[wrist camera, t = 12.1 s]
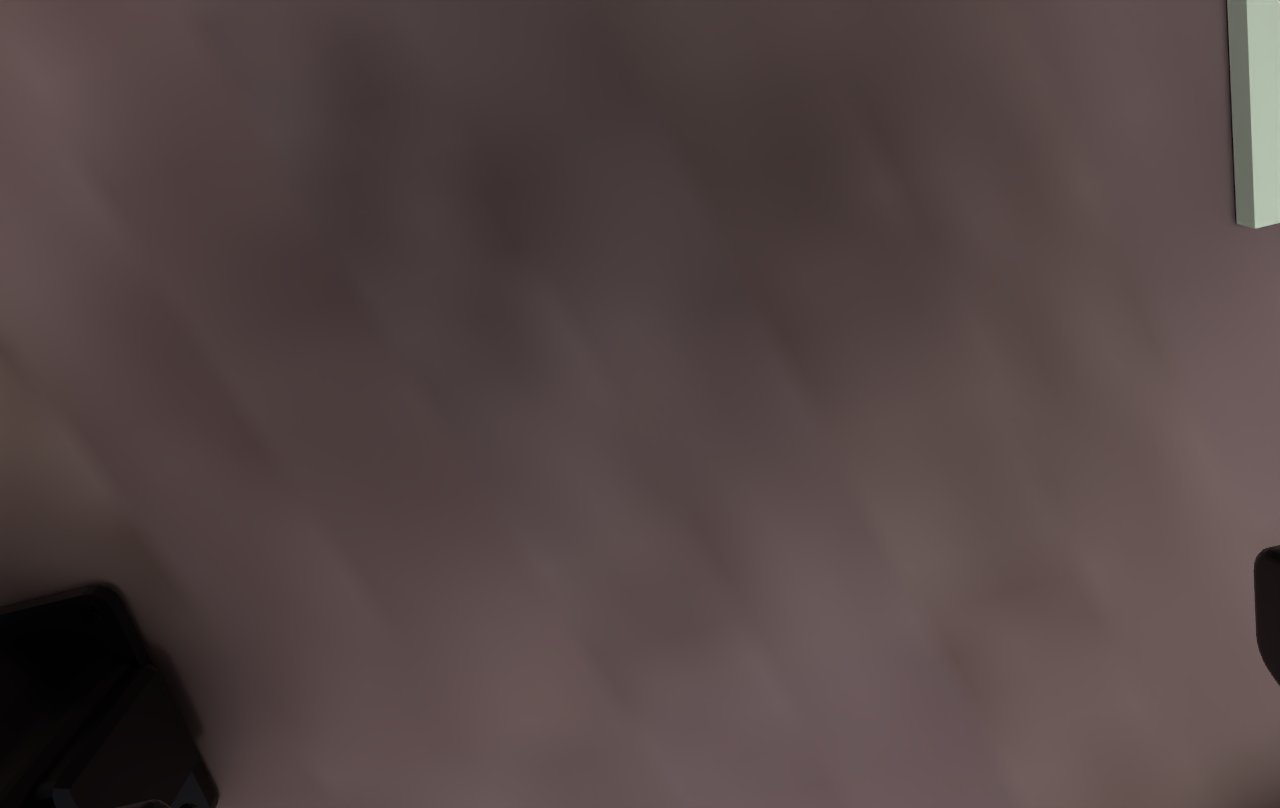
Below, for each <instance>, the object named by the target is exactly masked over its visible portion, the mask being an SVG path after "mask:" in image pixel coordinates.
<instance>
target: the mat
mask: <svg viewBox="0 0 1280 808" xmlns="http://www.w3.org/2000/svg"><path fill="white" fill-rule="evenodd" d="M1227 10H1228V33H1229V56H1230V79H1231V102H1232V126H1233V149H1234V172H1235V195H1236V219H1237V224H1239V225H1243V226H1247V227H1250V228H1254V229H1256V228H1260V227H1264V226H1268V225H1272V224H1276V223H1280V0H1227Z"/></svg>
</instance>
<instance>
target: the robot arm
mask: <svg viewBox="0 0 1280 808" xmlns="http://www.w3.org/2000/svg"><path fill="white" fill-rule="evenodd" d="M1254 591H1255V616H1256V637H1257V644H1258V648H1259V651H1260V654H1261V656H1262V659H1263V661H1264V663H1265V665H1266V667H1267V668H1268V670H1269V672H1270V673H1271V675H1272V676H1273V677H1274V679H1275V680H1276V681H1277V683H1278V684H1279V686H1280V545H1278V546H1274V547H1269V548H1266V549H1263V550H1262V551H1261V552H1260V553H1259V554H1258V555H1257V557H1256V560H1255V563H1254ZM88 605H94V606H96V607H98V608H99V609H100V610H101V611H102V613H103V615H97V614H95V613H93V612H92V611H91V610H90V609H89V606H88ZM187 803H192V804H194V805H196V806H197V807H198V808H216V807H217V803H218V801H217V797H216V794H215V792H214V790H213V788H212V786H211V784H210V782H209V780H208V777H207V775H206V773H205V771H204V769H203V767H202V765H201V763H200V761H199V753H198V751H197V749H196V747H195V745H194V743H193V741H192V739H191V736H190V734H189V732H188V730H187V728H186V726H185V724H184V722H183V720H182V718H181V716H180V714H179V712H178V710H177V708H176V706H175V703H174V701H173V699H172V697H171V695H170V693H169V691H168V689H167V687H166V685H165V683H164V681H163V679H162V677H161V675H160V673H159V671H157V670H156V669H155V668H154V666H153V664H152V662H151V660H150V658H149V656H148V654H147V652H146V650H145V648H144V646H143V644H142V642H141V640H140V638H139V635H138V633H137V631H136V629H135V627H134V625H133V623H132V621H131V619H130V617H129V615H128V613H127V611H126V609H125V607H124V605H123V603H122V600H121V599H120V598H119V596H118V595H117V594H116V593H115V592H114V591H112V590H111V589H109V588H107V587H103V586H100V585H97V586H88V587H84V588H79V589H75V590H71V591H67V592H63V593H59V594H54V595H50V596H46V597H42V598H38V599H34V600H29V601H25V602H21V603H17V604H13V605H9V606H4V607H0V808H193V807H190V806H189V805H188V804H187Z"/></svg>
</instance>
